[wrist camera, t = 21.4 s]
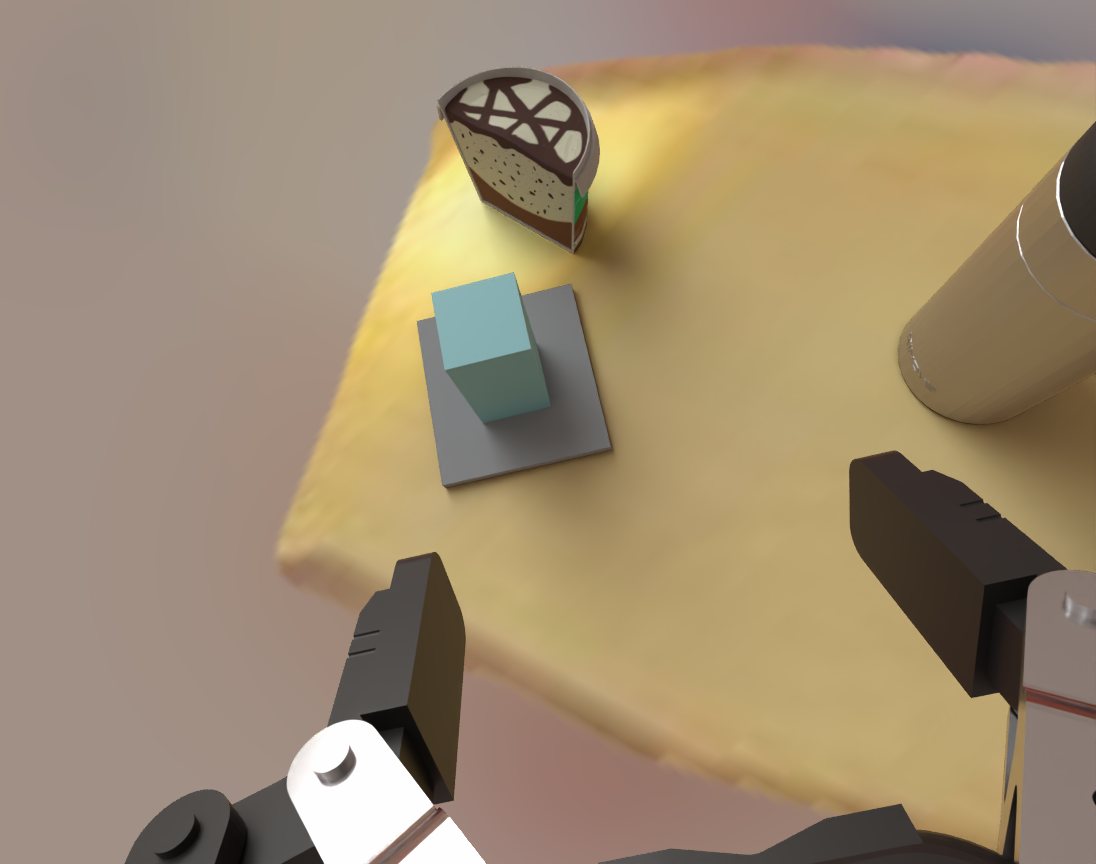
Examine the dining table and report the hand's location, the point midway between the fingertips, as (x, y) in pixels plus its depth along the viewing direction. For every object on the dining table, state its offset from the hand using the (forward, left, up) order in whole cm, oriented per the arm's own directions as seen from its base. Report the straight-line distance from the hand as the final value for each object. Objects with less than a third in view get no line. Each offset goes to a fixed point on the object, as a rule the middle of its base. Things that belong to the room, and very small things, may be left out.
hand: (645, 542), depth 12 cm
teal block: (+5, -16, -30) cm, 34 cm away
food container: (-1, -32, -31) cm, 44 cm away
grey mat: (+5, -17, -31) cm, 35 cm away
